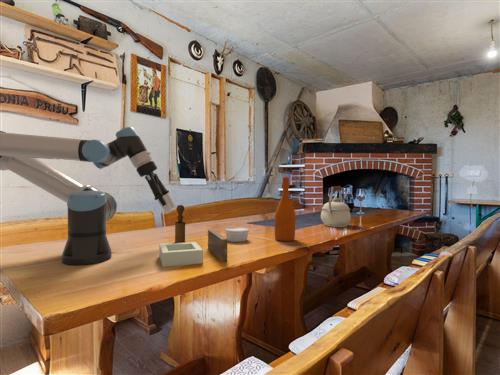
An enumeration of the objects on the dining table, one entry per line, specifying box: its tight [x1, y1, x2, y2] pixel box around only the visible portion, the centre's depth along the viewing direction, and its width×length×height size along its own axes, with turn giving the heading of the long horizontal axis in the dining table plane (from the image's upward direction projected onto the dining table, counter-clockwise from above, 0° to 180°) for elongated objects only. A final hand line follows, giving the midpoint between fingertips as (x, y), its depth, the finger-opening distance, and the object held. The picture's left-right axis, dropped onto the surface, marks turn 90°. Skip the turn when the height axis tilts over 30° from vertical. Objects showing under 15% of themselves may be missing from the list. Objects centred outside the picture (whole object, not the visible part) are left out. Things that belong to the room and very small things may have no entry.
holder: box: [158, 241, 204, 268], centre depth 102 cm, size 13×13×4 cm
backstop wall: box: [207, 229, 228, 263], centre depth 110 cm, size 2×20×8 cm, turn 21°
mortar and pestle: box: [173, 204, 186, 243], centre depth 117 cm, size 7×6×18 cm
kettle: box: [320, 185, 352, 228], centre depth 186 cm, size 25×18×25 cm
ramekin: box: [224, 227, 250, 243], centre depth 138 cm, size 11×11×5 cm
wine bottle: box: [274, 176, 296, 242], centre depth 140 cm, size 10×10×30 cm
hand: (171, 210), depth 121 cm, fingers open, 13 cm apart
